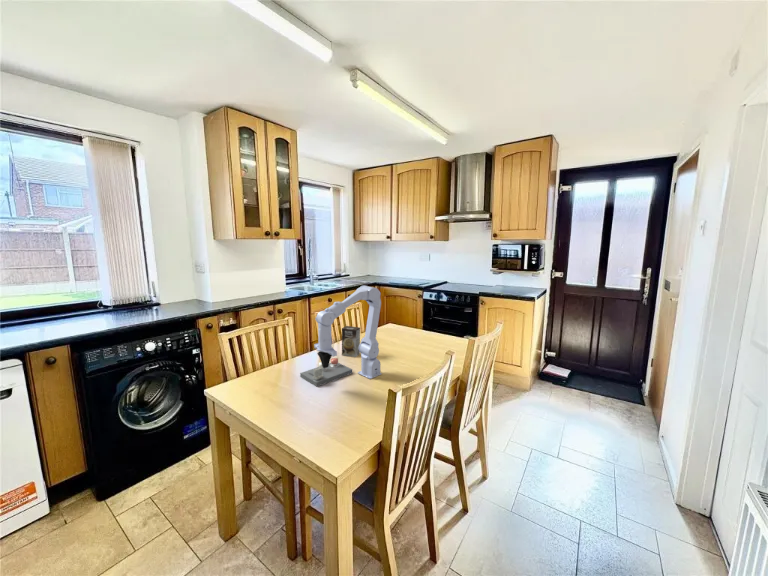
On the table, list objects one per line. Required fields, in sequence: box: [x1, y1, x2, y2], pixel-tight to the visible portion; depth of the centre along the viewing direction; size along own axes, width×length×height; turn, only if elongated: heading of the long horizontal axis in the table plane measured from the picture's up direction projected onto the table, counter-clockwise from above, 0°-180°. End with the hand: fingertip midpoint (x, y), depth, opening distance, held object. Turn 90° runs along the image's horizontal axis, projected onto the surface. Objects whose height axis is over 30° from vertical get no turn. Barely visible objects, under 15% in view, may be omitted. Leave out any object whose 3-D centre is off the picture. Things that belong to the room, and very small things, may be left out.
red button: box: [330, 357, 339, 364], centre depth 159 cm, size 4×4×2 cm
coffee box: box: [341, 325, 361, 358], centre depth 179 cm, size 9×6×16 cm
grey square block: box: [313, 368, 324, 380], centre depth 144 cm, size 3×4×4 cm
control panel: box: [299, 362, 353, 388], centre depth 153 cm, size 14×21×2 cm, turn 135°
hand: (325, 367), depth 139 cm, fingers closed
